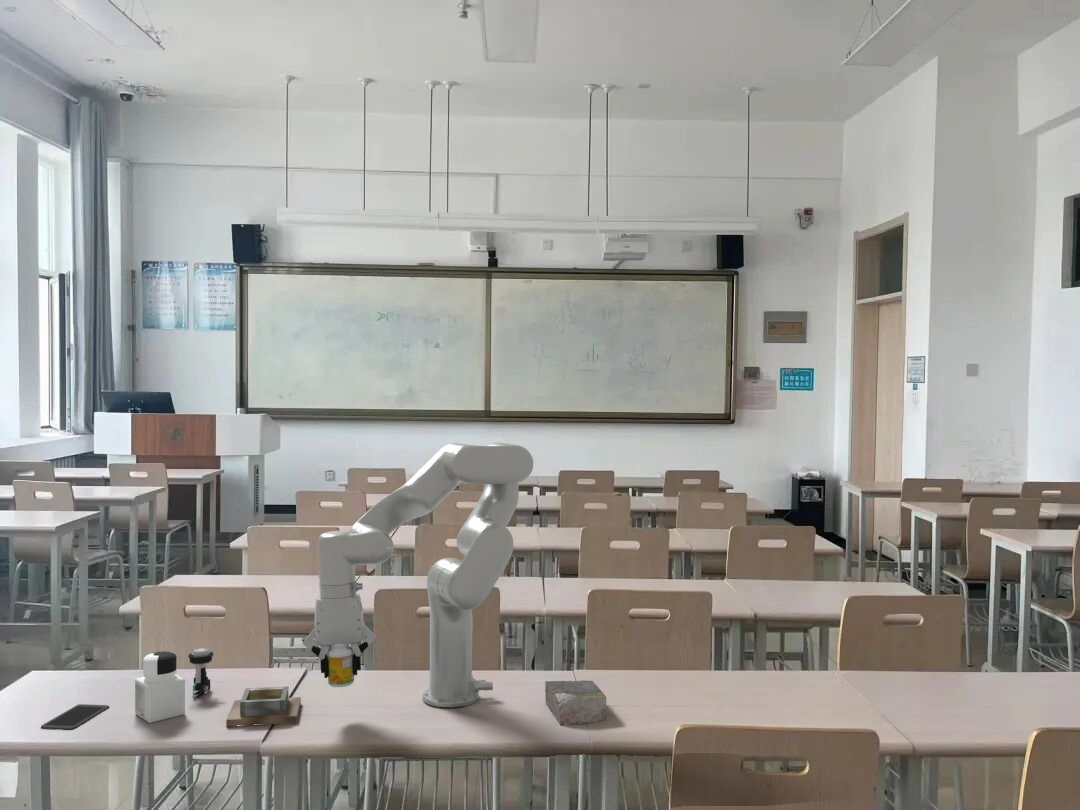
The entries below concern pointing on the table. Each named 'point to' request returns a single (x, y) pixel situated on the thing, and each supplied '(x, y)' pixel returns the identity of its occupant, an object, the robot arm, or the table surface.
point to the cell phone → (75, 717)
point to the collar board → (264, 707)
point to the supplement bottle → (340, 665)
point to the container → (159, 688)
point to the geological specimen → (575, 702)
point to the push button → (200, 670)
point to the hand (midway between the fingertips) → (341, 673)
